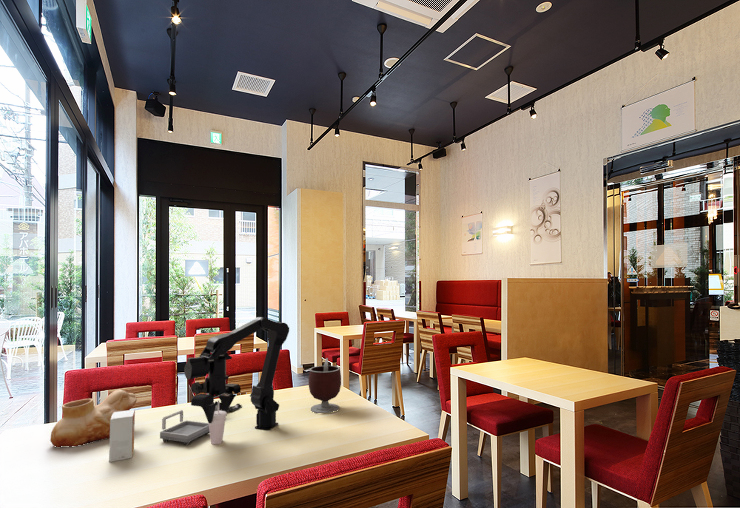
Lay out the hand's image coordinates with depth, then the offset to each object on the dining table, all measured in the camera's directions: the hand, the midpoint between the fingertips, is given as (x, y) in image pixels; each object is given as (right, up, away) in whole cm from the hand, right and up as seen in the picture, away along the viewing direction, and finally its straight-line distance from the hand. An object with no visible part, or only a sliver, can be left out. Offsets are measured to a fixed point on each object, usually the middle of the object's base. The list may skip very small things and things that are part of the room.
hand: (216, 419), depth 141 cm
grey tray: (-12, -8, +4) cm, 15 cm away
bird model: (-10, -10, +33) cm, 36 cm away
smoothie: (0, -8, 0) cm, 8 cm away
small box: (-27, -8, -10) cm, 29 cm away
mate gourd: (+34, -9, +34) cm, 49 cm away
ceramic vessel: (-46, -9, +6) cm, 47 cm away
